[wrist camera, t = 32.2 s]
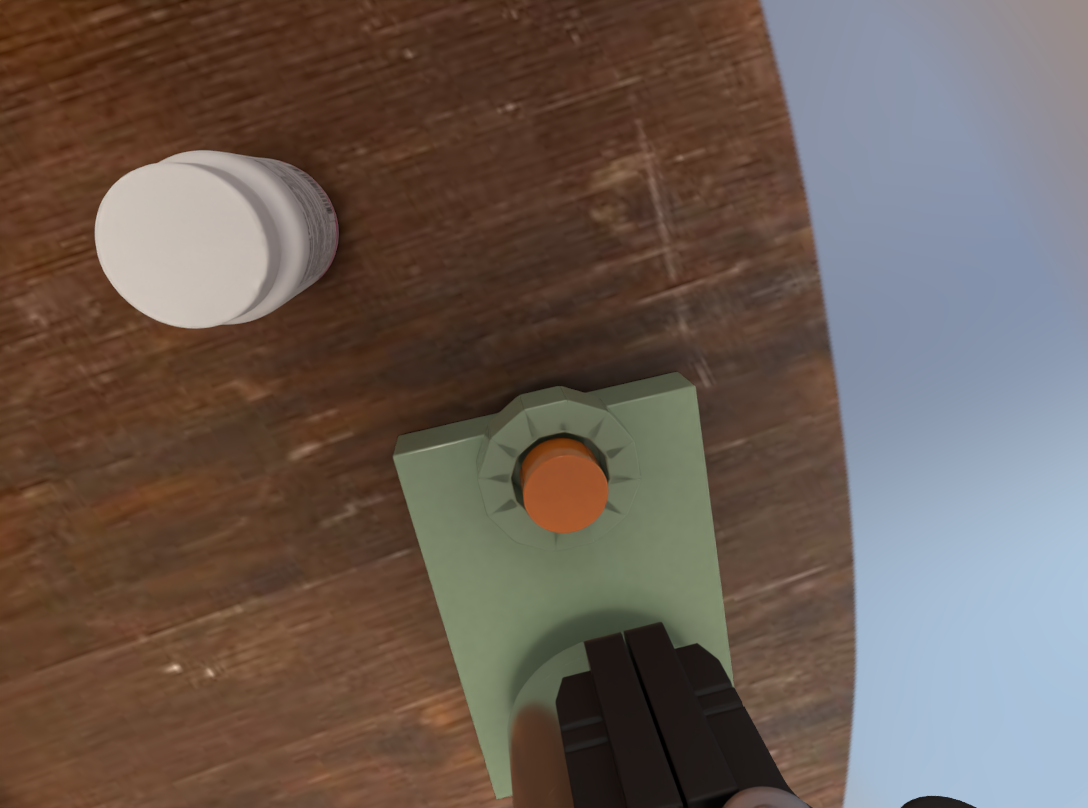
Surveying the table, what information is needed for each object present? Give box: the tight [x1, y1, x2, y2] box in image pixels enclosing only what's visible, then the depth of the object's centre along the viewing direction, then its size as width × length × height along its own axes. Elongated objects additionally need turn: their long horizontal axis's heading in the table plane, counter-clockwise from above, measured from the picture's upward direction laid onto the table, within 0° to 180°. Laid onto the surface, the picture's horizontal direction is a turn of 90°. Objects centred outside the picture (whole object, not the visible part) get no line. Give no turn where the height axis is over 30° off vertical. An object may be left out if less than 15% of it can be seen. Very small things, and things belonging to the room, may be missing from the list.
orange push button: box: [519, 438, 609, 533], centre depth 23 cm, size 3×3×2 cm
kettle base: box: [393, 372, 734, 799], centre depth 28 cm, size 19×12×4 cm, turn 11°
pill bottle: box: [95, 150, 339, 328], centre depth 20 cm, size 5×5×8 cm
